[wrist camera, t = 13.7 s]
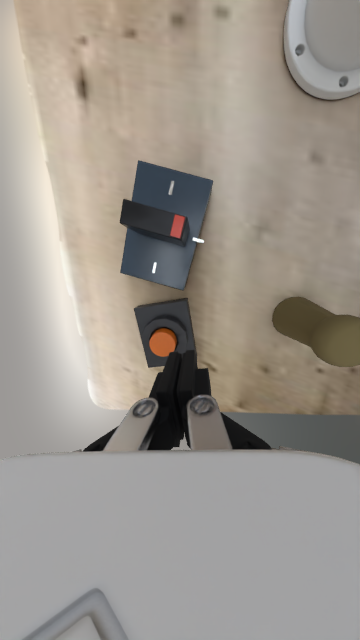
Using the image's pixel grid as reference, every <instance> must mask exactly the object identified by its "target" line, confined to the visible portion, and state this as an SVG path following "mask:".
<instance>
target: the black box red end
mask: <svg viewBox="0 0 360 640" xmlns="http://www.w3.org/2000/svg"><path fill="white" fill-rule="evenodd" d="M120 223H121V224H122V225H124V226H126V227H127V228H129V229H131V230H132V231H134V232H136V233H139V234H142V235H146V236H149V237H153V238H156V239H160V240H163V241H167V242H170V243H174V244H177V245H181V246H185V245H186V241H187V237H188V233H189V230H190V228H189V223H188V218H187V217H186V216H183V215H179V214H176V213H172V212H169V211H165V210H161V209H158V208H154V207H151V206H147V205H144V204H140V203H137V202H133V201H130V200H126V199H123V205H122V212H121V218H120Z"/></svg>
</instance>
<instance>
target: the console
mask: <svg viewBox="0 0 360 640" xmlns="http://www.w3.org/2000/svg"><path fill="white" fill-rule="evenodd" d="M212 185H213V180H209V179H206V178H202V177H198V176H194V175H191V174H187V173H183V172H180V171H176V170H172V169H169V168H165V167H161V166H157V165H154V164H150V163H146V162H143V161H139V160H138V165H137V171H136V178H135V184H134V190H133V196H132V201H133V202H137V203H140V204H144V205H147V206H151V207H154V208H158V209H161V210H165V211H169V212H172V213H176V214H179V215H183V216H186V217H187V218H188V223H189V228H190V230H189V233H188V237H187V241H186V245H185V246H181V245H177V244H174V243H170V242H167V241H163V240H160V239H156V238H153V237H149V236H146V235H142V234H139V233H136V232H134V231H132V230H131V229H129V228H127V234H126V240H125V247H124V253H123V259H122V265H121V272H120V273H123V274H127V275H130V276H134V277H137V278H141V279H144V280H148V281H151V282H155V283H158V284H162V285H166V286H169V287H173V288H176V289H180V290H184V289H185V286H186V283H187V279H188V275H189V272H190V268H191V264H192V261H193V257H194V253H195V250H196V246H197V242H200V243H204V240H201V239H199V235H200V231H201V228H202V224H203V220H204V217H205V213H206V209H207V206H208V202H209V198H210V195H211V191H212Z"/></svg>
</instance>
